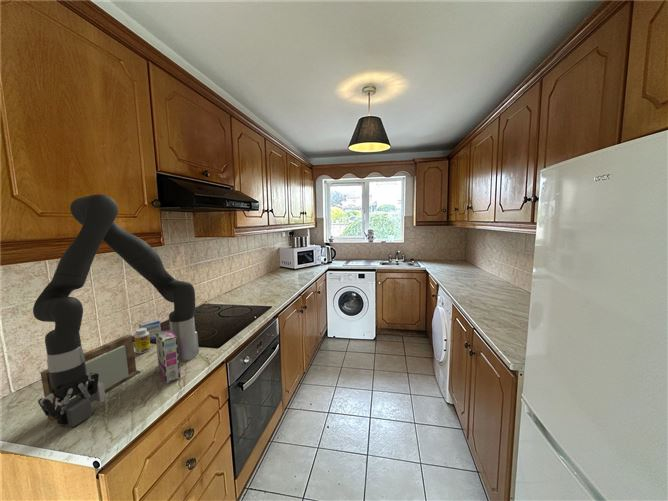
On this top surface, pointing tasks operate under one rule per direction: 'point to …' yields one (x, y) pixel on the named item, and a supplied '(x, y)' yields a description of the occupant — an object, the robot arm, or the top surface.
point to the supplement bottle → (142, 340)
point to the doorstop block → (78, 410)
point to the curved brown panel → (96, 352)
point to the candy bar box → (167, 355)
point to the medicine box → (151, 328)
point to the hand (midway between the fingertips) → (75, 417)
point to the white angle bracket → (107, 371)
